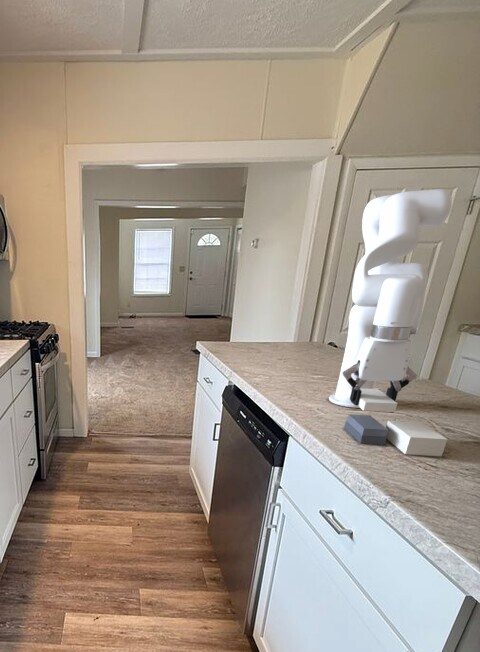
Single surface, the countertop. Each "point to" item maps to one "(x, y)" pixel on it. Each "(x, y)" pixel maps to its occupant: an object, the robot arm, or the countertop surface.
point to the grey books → (366, 429)
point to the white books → (415, 438)
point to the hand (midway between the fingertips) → (371, 403)
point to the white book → (375, 400)
